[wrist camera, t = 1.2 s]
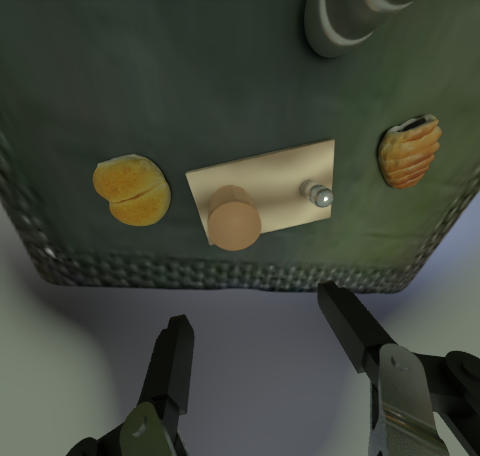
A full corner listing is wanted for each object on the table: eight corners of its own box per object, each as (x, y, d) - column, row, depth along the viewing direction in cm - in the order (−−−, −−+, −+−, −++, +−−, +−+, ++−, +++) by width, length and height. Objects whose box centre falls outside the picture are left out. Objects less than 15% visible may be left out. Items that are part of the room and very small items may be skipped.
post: (299, 181, 25) (317, 193, 20) (316, 177, 25) (338, 188, 20) (299, 198, 26) (317, 212, 21) (316, 194, 26) (337, 208, 21)
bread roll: (128, 226, 27) (114, 240, 23) (90, 164, 22) (66, 170, 19) (182, 212, 27) (177, 224, 23) (155, 147, 22) (144, 150, 19)
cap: (204, 190, 24) (200, 209, 18) (247, 180, 24) (257, 196, 18) (215, 228, 27) (215, 255, 21) (254, 219, 27) (264, 244, 21)
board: (187, 171, 24) (185, 173, 22) (328, 139, 24) (334, 139, 23) (210, 240, 29) (209, 245, 28) (325, 213, 29) (330, 217, 28)
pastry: (419, 175, 28) (446, 181, 25) (376, 194, 29) (397, 202, 26) (423, 110, 24) (456, 107, 20) (372, 134, 25) (396, 135, 21)
